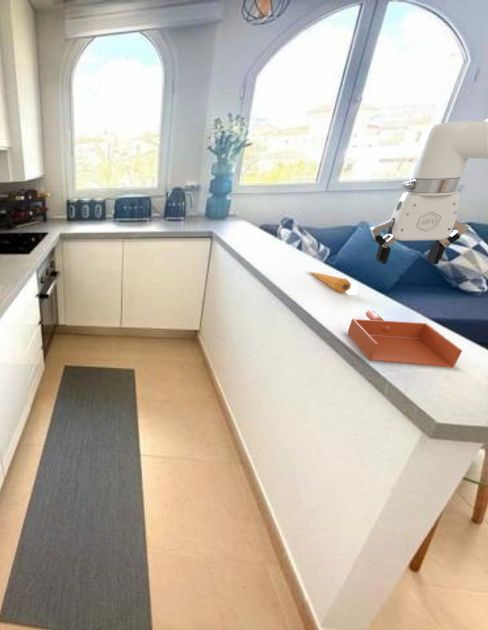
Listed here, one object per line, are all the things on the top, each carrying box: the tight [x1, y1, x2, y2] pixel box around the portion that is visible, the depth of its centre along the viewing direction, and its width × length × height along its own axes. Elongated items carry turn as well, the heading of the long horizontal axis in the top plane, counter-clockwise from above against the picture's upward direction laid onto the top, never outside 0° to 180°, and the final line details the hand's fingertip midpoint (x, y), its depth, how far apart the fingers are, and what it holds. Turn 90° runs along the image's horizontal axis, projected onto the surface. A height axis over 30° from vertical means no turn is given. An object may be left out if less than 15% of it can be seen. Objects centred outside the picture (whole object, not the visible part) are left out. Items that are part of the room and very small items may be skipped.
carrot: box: [310, 272, 352, 293], centre depth 118 cm, size 20×4×4 cm, turn 175°
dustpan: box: [347, 309, 463, 369], centre depth 84 cm, size 22×15×4 cm
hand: (405, 262), depth 81 cm, fingers open, 9 cm apart
